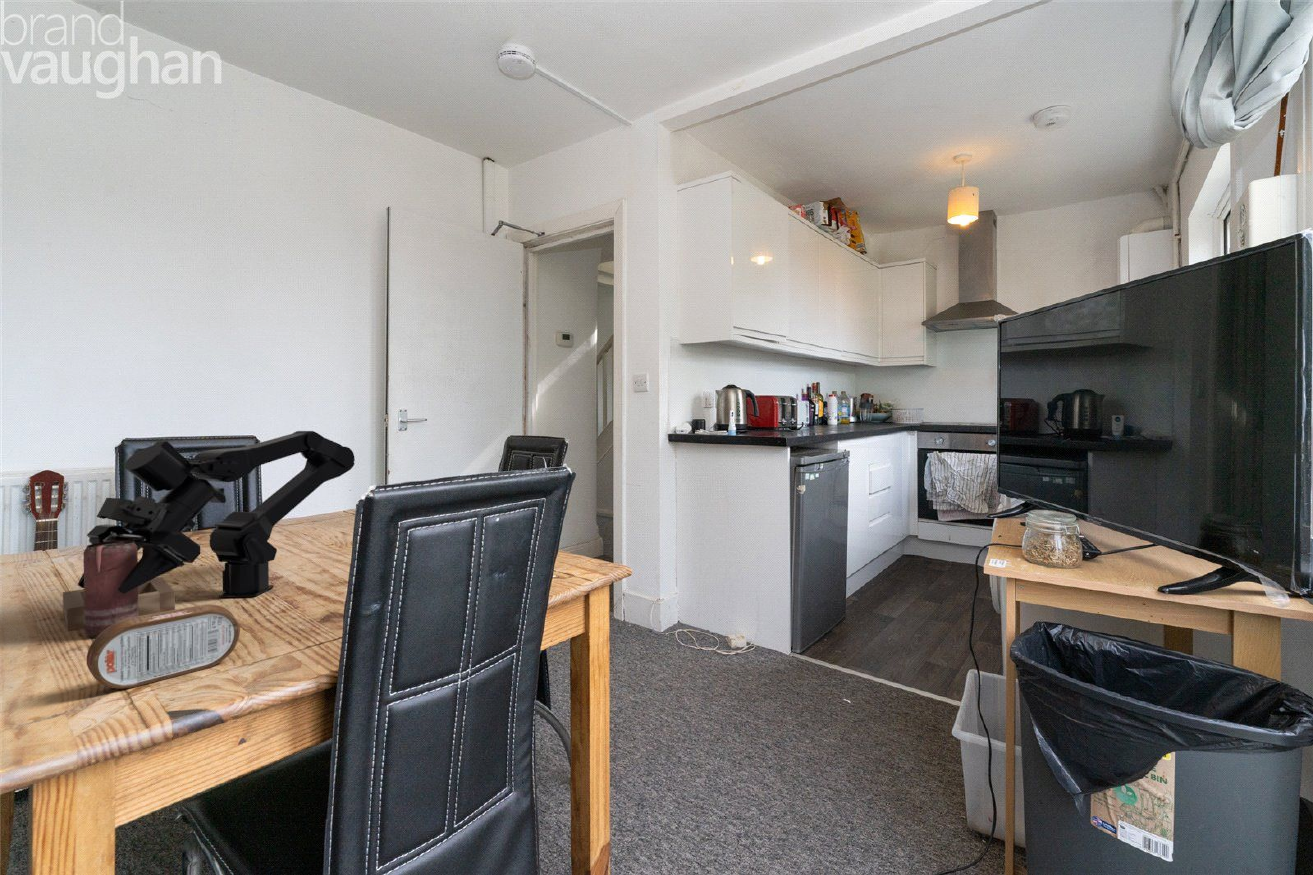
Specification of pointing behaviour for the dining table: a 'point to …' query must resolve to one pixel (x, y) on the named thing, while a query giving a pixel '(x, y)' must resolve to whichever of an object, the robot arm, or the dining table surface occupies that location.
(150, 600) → the collar
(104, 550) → the can
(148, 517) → the robot arm
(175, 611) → the tin
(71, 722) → the dining table surface
